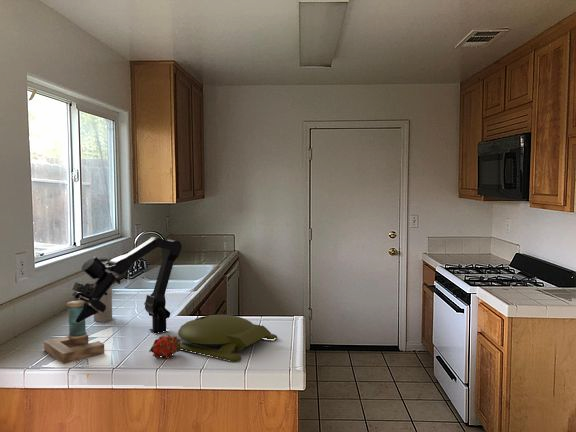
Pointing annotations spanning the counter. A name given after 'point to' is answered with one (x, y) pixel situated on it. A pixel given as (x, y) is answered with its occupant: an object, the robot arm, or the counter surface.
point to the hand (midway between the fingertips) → (73, 320)
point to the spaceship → (221, 335)
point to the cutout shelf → (72, 349)
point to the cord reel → (75, 328)
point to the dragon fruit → (165, 346)
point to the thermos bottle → (105, 301)
